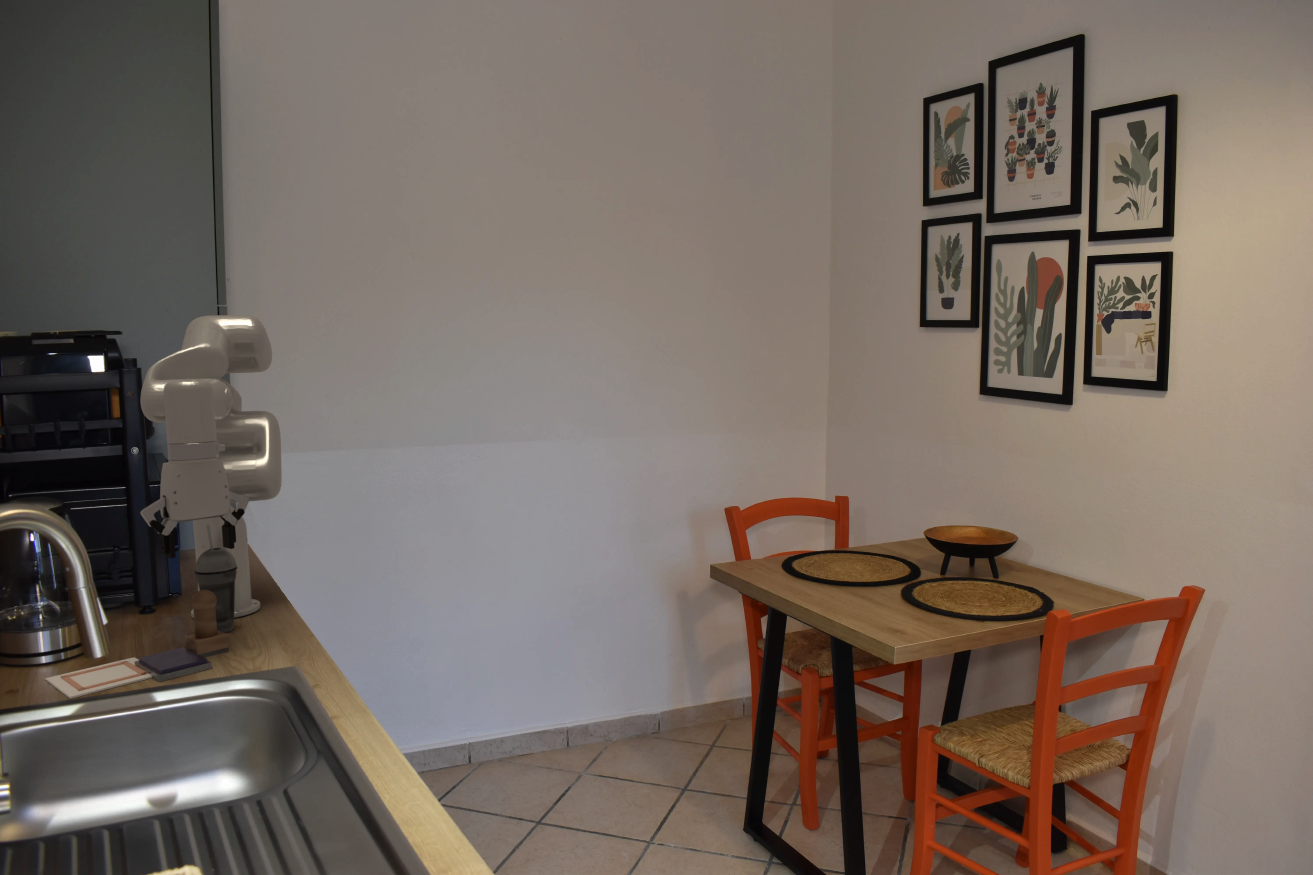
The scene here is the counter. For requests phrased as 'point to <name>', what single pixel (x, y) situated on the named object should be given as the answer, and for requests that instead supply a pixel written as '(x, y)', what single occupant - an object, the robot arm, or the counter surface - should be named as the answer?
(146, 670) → the ink pad
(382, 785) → the counter surface
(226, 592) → the beverage cup
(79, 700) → the counter surface
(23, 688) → the counter surface
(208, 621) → the stamp
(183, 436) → the robot arm
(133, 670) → the print card
